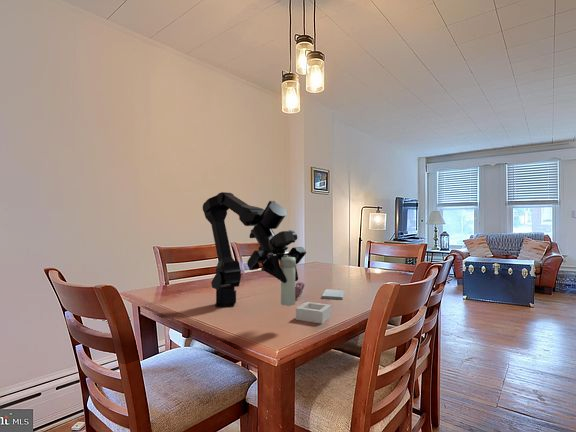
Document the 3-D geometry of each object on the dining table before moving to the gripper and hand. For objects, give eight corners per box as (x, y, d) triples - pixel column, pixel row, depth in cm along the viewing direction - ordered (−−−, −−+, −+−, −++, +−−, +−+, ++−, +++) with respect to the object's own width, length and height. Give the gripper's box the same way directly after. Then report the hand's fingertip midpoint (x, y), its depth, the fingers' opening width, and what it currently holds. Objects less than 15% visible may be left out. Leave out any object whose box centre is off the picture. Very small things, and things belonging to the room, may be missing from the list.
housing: (295, 319, 99) (295, 308, 99) (306, 312, 106) (306, 301, 106) (322, 323, 95) (322, 311, 95) (331, 315, 103) (331, 304, 103)
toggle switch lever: (281, 305, 89) (281, 258, 89) (280, 302, 93) (280, 256, 93) (296, 305, 89) (296, 258, 89) (294, 301, 93) (295, 256, 93)
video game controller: (296, 304, 123) (304, 288, 122) (285, 298, 123) (294, 282, 123) (300, 298, 132) (307, 283, 132) (290, 292, 133) (298, 277, 132)
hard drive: (342, 297, 123) (344, 290, 135) (321, 295, 125) (325, 288, 137) (342, 301, 123) (344, 293, 135) (321, 300, 125) (325, 292, 137)
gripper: (253, 221, 88) (279, 266, 79) (302, 221, 100) (329, 260, 92) (237, 247, 93) (260, 292, 85) (285, 244, 106) (309, 283, 98)
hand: (291, 281), depth 90 cm, fingers closed on toggle switch lever, 4 cm apart
